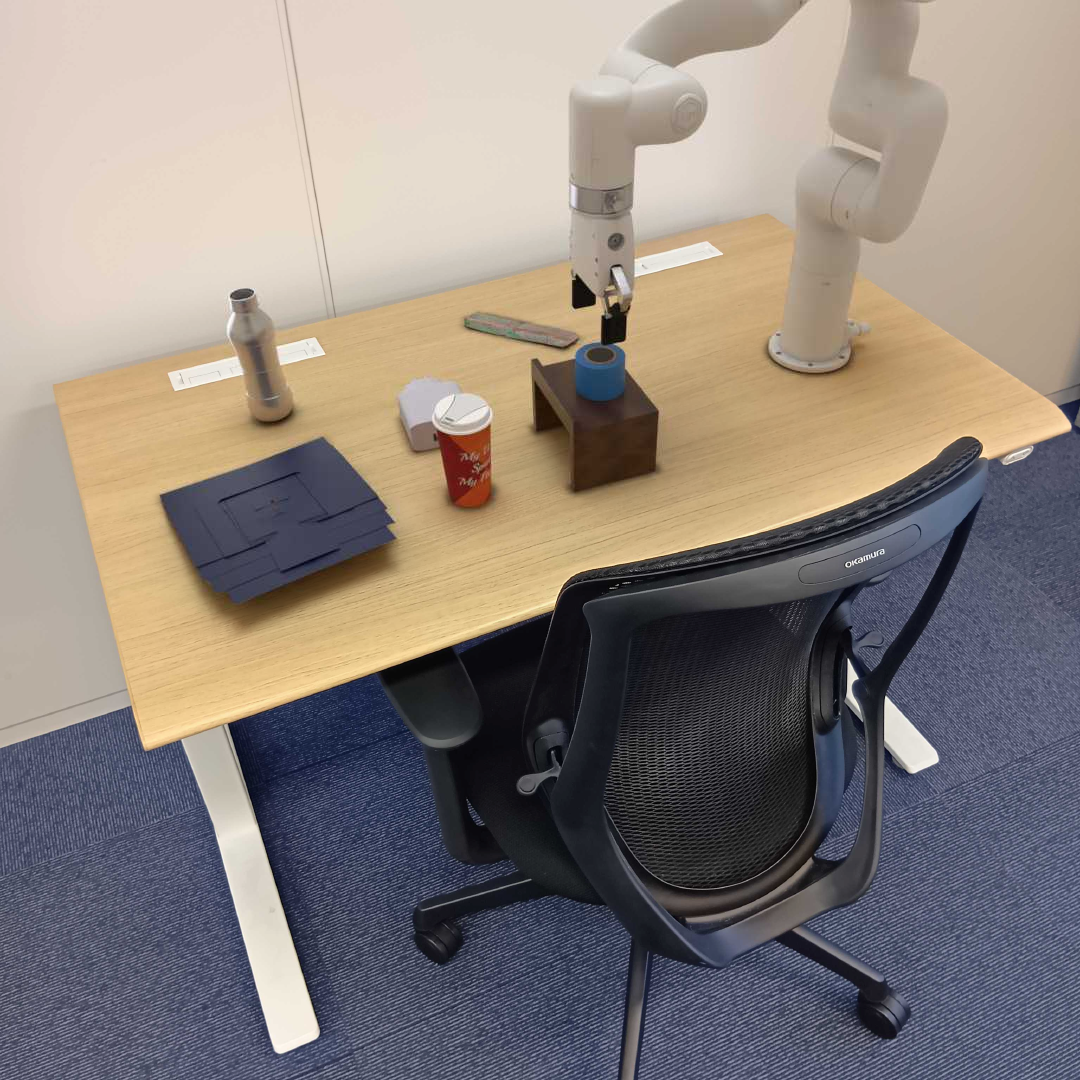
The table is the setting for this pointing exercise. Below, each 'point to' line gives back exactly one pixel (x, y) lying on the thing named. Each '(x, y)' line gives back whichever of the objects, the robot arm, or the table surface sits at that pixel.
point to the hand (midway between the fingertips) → (598, 324)
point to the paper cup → (465, 447)
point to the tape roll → (600, 371)
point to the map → (520, 329)
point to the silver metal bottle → (258, 357)
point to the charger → (423, 409)
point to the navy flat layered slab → (277, 520)
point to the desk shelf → (596, 425)
